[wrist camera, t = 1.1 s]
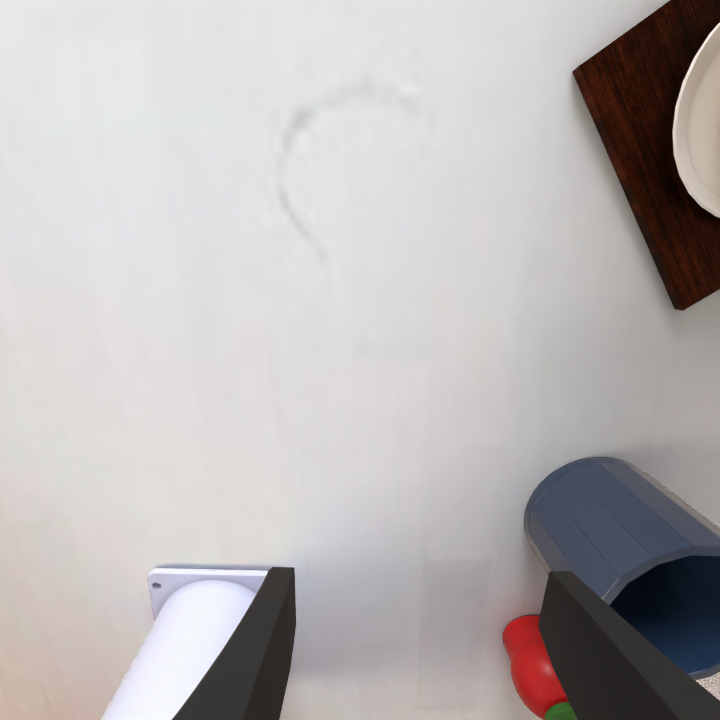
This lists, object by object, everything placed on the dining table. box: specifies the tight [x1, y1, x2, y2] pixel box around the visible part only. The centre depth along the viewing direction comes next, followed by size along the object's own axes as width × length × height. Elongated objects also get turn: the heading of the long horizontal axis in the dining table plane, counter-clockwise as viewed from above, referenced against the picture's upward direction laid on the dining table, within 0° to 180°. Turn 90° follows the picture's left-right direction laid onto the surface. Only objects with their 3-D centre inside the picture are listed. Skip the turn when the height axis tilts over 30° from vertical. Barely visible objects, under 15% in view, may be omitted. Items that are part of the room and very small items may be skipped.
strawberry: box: [503, 615, 578, 720], centre depth 21 cm, size 4×4×6 cm
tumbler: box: [524, 457, 720, 680], centre depth 18 cm, size 8×8×6 cm
